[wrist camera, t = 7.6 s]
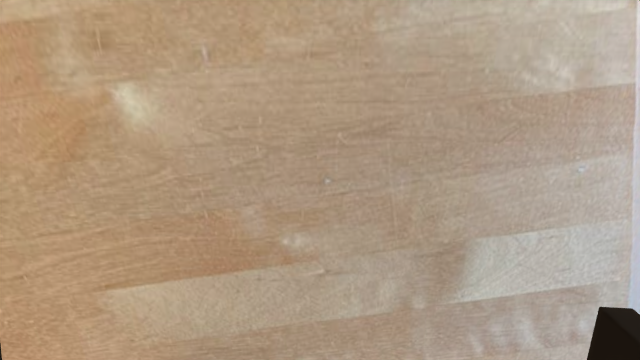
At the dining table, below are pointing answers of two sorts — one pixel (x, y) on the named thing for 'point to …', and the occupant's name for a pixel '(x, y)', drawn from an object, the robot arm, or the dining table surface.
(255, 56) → the dining table surface
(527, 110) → the dining table surface
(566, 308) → the dining table surface
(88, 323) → the dining table surface
